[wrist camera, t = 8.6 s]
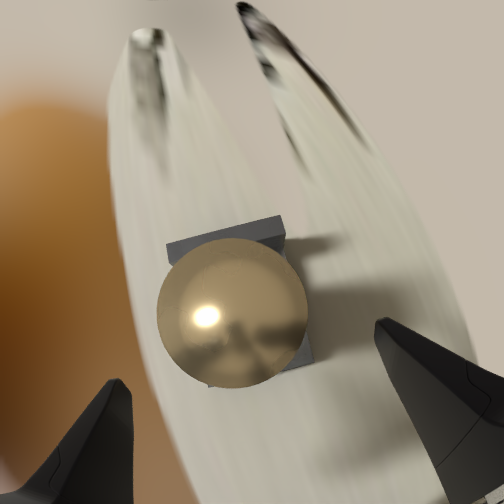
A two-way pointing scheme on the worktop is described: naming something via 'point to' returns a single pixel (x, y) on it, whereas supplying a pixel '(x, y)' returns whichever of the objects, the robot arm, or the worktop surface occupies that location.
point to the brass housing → (232, 313)
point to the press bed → (258, 231)
